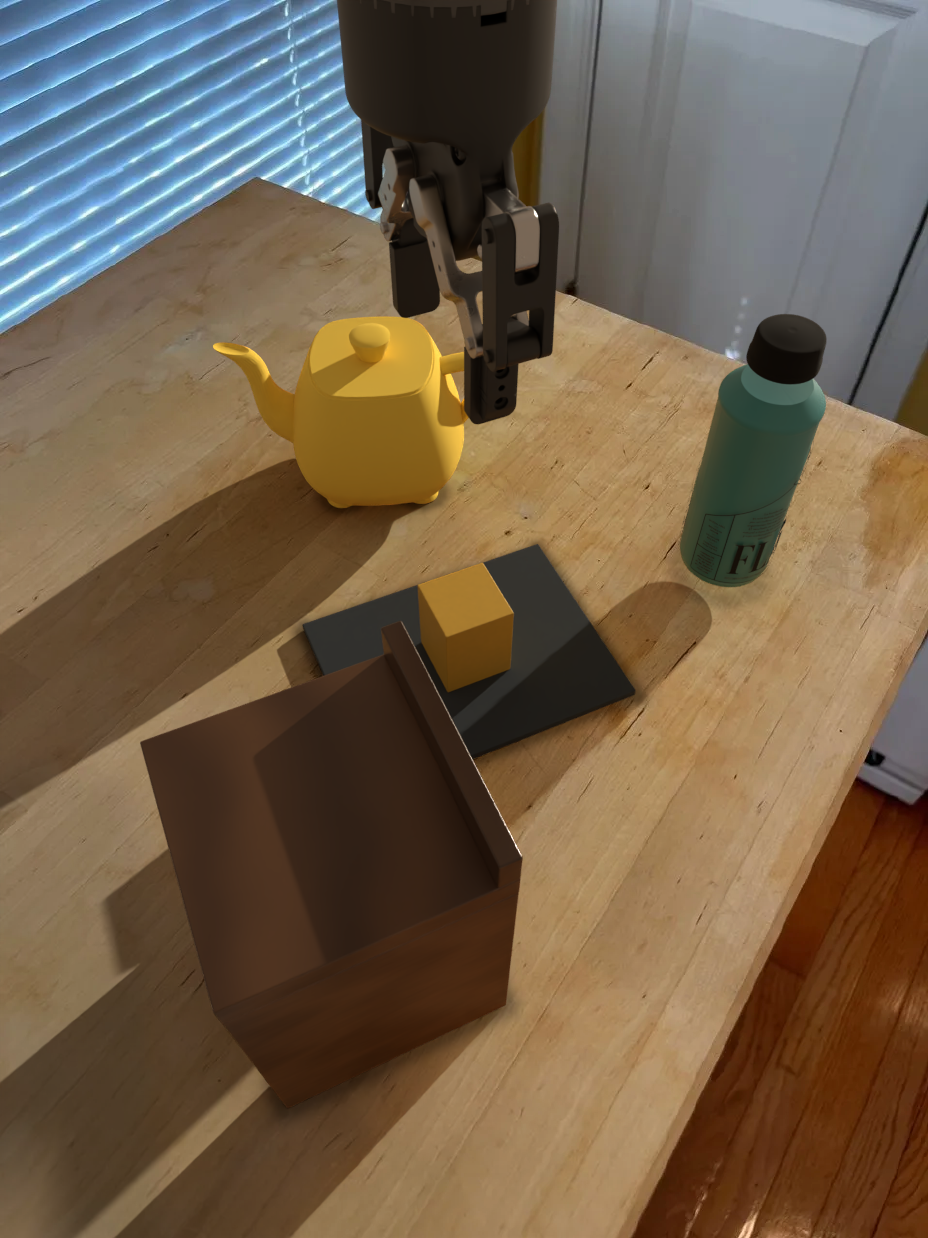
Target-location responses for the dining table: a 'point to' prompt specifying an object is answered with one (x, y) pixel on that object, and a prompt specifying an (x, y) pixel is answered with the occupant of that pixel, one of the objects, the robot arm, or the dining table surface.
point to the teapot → (367, 411)
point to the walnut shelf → (339, 870)
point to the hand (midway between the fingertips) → (451, 360)
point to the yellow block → (465, 626)
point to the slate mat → (540, 655)
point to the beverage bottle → (755, 453)
